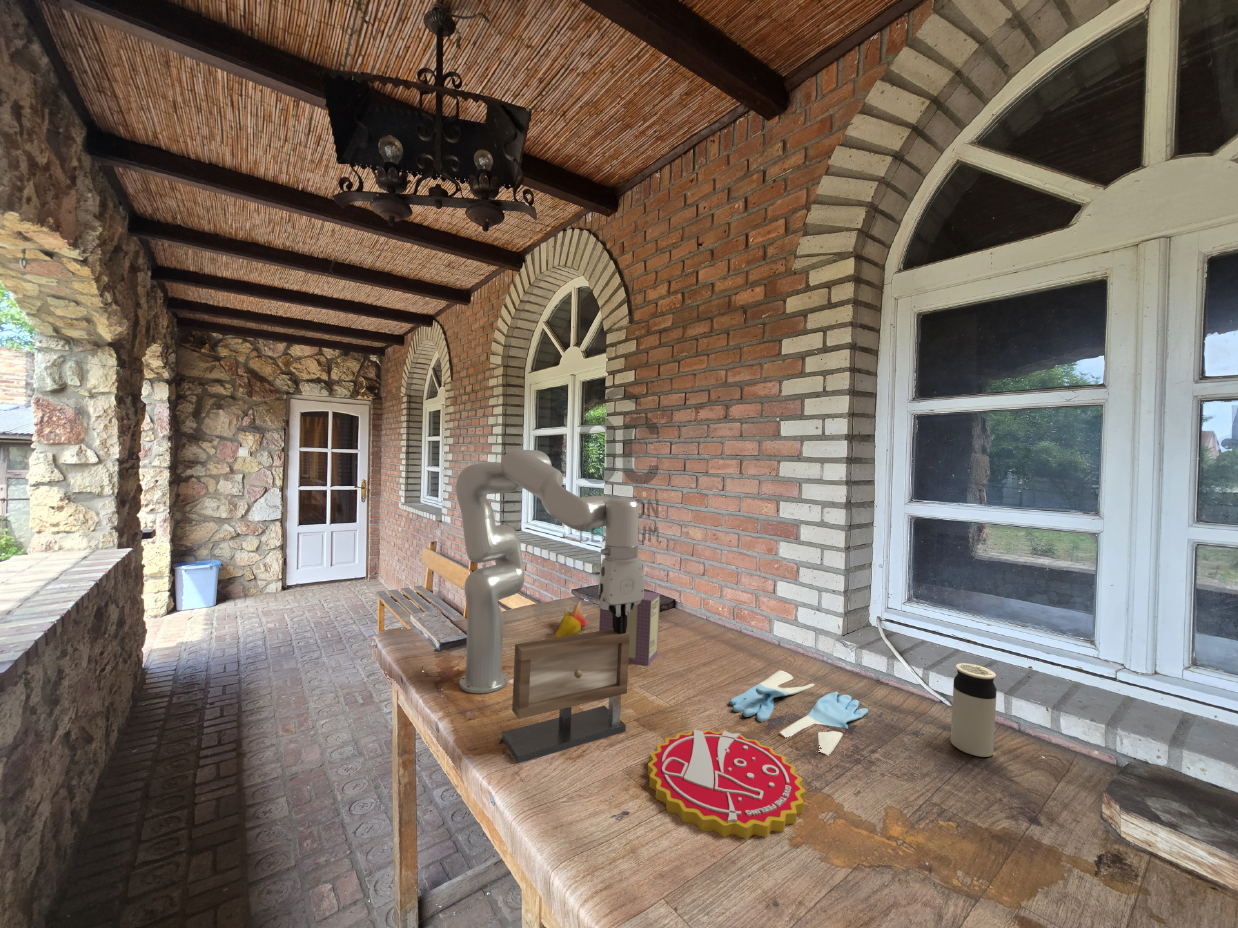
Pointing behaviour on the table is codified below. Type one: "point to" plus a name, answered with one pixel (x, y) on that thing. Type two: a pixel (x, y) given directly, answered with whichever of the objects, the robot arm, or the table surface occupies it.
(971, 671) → the travel mug
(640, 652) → the box
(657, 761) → the decorative sign
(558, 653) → the wooden drawer
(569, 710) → the pivot stand
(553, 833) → the table surface
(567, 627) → the torch
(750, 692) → the rubber gloves
